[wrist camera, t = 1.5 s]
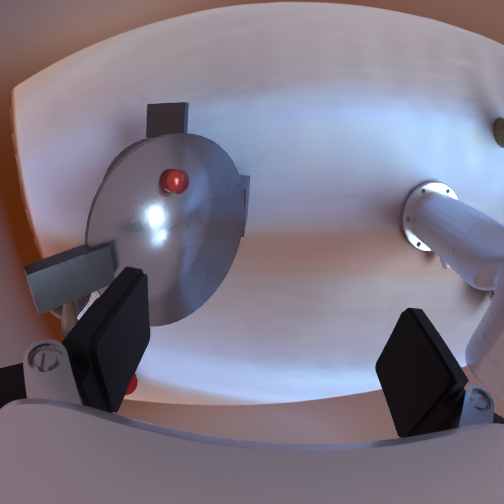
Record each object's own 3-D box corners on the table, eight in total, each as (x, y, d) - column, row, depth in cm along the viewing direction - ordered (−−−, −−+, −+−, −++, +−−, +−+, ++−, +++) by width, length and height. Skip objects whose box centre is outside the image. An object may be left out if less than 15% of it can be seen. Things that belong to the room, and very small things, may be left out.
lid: (240, 133, 31) (261, 134, 29) (233, 282, 39) (250, 289, 37) (5, 155, 13) (9, 155, 11) (63, 374, 20) (75, 393, 19)
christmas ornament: (111, 358, 60) (95, 387, 51) (137, 363, 60) (123, 394, 51) (118, 377, 63) (105, 406, 54) (143, 382, 63) (131, 412, 54)
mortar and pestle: (116, 236, 47) (52, 295, 29) (131, 279, 51) (80, 349, 33) (70, 247, 49) (6, 300, 30) (85, 285, 52) (32, 346, 34)
